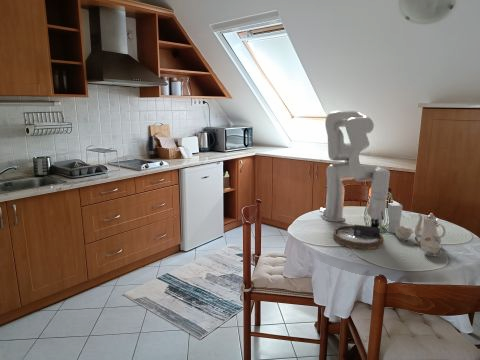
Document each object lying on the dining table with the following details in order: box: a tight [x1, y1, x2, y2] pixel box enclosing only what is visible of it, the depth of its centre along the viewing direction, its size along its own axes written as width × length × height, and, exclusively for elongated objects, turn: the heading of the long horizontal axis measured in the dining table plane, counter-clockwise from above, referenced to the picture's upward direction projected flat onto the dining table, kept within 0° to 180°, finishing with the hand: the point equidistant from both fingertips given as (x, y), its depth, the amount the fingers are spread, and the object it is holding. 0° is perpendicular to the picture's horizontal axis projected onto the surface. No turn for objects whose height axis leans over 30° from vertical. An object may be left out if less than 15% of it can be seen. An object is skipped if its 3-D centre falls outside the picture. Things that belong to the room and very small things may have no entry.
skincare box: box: [386, 200, 403, 233], centre depth 185 cm, size 8×6×15 cm
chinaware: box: [394, 212, 447, 257], centre depth 165 cm, size 28×17×17 cm, turn 19°
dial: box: [337, 224, 381, 243], centre depth 172 cm, size 20×20×7 cm
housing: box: [332, 225, 385, 251], centre depth 172 cm, size 23×23×3 cm
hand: (374, 231), depth 173 cm, fingers closed
